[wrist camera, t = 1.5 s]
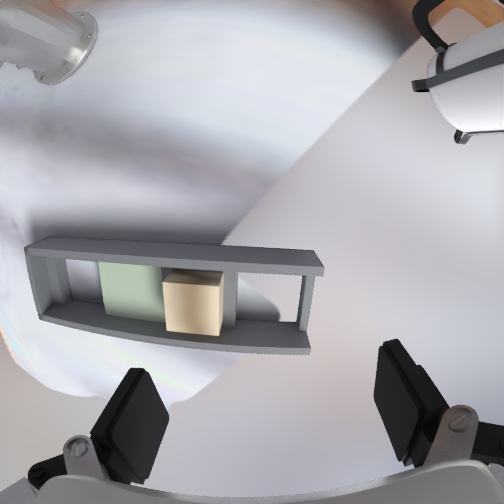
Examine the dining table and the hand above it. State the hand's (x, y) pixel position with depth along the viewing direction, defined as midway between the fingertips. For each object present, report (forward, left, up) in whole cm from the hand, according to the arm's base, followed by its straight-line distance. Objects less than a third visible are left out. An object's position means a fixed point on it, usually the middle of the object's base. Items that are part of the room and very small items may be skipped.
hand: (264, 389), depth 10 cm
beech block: (-7, -7, -22) cm, 24 cm away
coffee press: (+24, +23, -25) cm, 42 cm away
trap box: (-13, -7, -24) cm, 28 cm away
